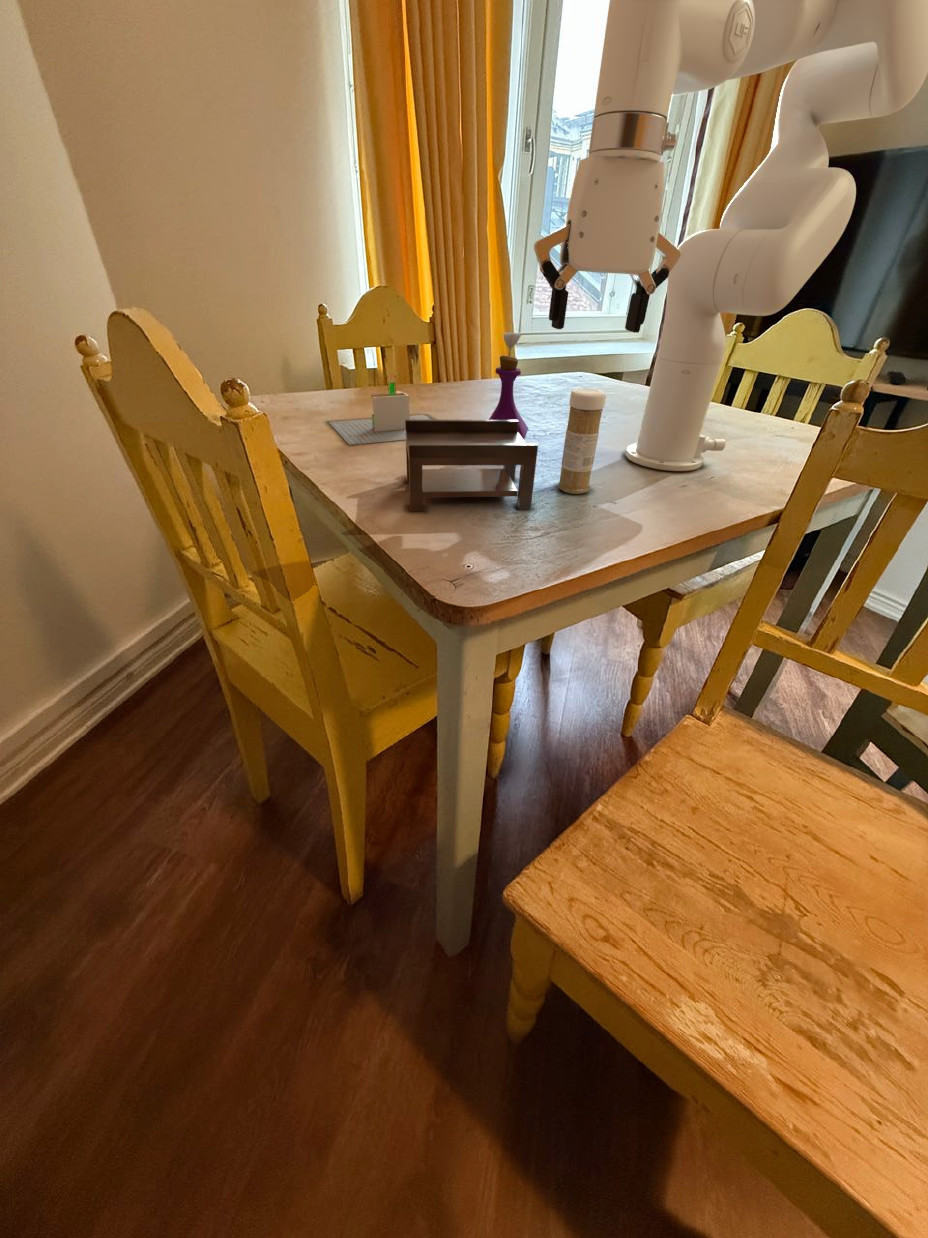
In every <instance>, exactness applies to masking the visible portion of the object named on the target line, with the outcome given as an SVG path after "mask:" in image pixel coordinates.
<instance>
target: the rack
mask: <svg viewBox="0 0 928 1238" xmlns="http://www.w3.org/2000/svg"><path fill="white" fill-rule="evenodd" d="M430 419H431V418H430ZM430 419H406V420H405V429H406V440H405V460H406V463H405V464H406V465H405V466H406V483H409V484H408V486H409V487H408V488H409V509H410V512H423V511H424V509H423V507H424V504H423V503H424V502H423V500H424V498H425V499H426V498H489V497H490V498H493V497H495V498H497V497H499V498H501V497H516V507H517V508H518V510H519V511H520V510H522V511H523V510H531V509H532V501H533V492H534V484H535V477H536V476H535V475H536V467H537V458H538V449H539V445H538V443H526V441H525V439H524V440H523V439H522V437H521V436H520V435H519V433H518V426H519V421H518V420H489V419H432V420H430ZM423 466H425V467H427V466H429V467H430V466H434V467H435V466H502V468H423ZM517 466H520V467H519V477H518V487H517V488H516V485H515V484H514V482H515V480H516V479H515V478H516V469H517Z"/></svg>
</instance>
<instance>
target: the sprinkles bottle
mask: <svg viewBox="0 0 928 1238" xmlns="http://www.w3.org/2000/svg"><path fill="white" fill-rule="evenodd" d="M569 397H570V398H569V403H568V404H569V413H568V421H567V425H566V426H567V427H566V431H565V438H564V444H563V451H562V457H561V468H560V475H559V481H558V485H557V487H558V489H559V490H561V491H562V492H564V493H568V494H572V495H573V494H574V495H582V494H585V493H587V492H588V491H589V489H590V480H591V475H592V470H593V467H594V460H595V456H596V450H597V445H598V439H599V434H600V424H601V420H602V419H601V418H602V414H603V411H604V410H603V409H604V408H605V404H606V397H607V393H606V392H605V391H603V390H600V389H594V388H575V389H573V390H571V392H570V396H569Z"/></svg>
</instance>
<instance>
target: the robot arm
mask: <svg viewBox="0 0 928 1238" xmlns="http://www.w3.org/2000/svg"><path fill="white" fill-rule="evenodd" d="M605 26H606V27H605V32H604V40H603V47H602V54H601V59H600V69H599V76H598V81H597V91H596V98H595V105H594V111H593V120H592V126H591V133H590V141H589V147H588V155H587V157H585V158H582V159H580V160H579V162H578V165H577V169H576V172H575V176H574V179H573V180H574V181H573V184H572V189H571V192H570V196H569V200H568V206H567V210H566V215H565V221H564V225H563V226H562V227H560V228H558V229H556V230H555V231H552V232H551V233H549V234H547V235H545V236H544V237H542V238H540V239H538V240H536V241H535V242H534V244H533V250H534V253H535V256H536V260H537V263H538V265H539V271H540V272H541V274H542V276H543V277H544V279H545V281H547V283H548V285H549V287H550V288H551V293H550V294H551V295H550V303H549V312H548V320H549V321H550V322H551V328H553V329H556V330H562V329H564V327H565V322H566V313H567V306H568V300H569V291H568V290H567V289H566V288H567V285H568V283H570V281H571V280H572V279H573V278H574V276H575V275H576V274H577V273H578V272H586V273H587V272H588V273H589V272H590V273H604V274H620V275H629V276H630V279H631V281H632V282H633V286H634V287H635V292H632V294H631V295H630V300H629V305H628V309H627V315H626V320H625V324H624V329H625V330H626V331H628V332H632V333H636V334H637V333H638V334H639V333H640V331H641V328H642V327H641V326H642V325H643V324H644V323H645V320H646V316H647V310H648V307H649V302H650V297H651V295H653V294H654V293H655V292H656V289H657V288H659V287H660V285H662V284H663V283H664V282H665V281H666V280H667V284H666V305H665V312H664V320H663V324H662V325H663V326H662V332H661V336H660V342H659V345H658V351H657V353H656V358H655V363H654V368H653V372H652V376H651V381H650V385H649V389H648V393H647V398H646V403H645V406H644V407H645V408H644V411H643V416H642V420H641V425H640V429H639V434H638V438H637V442H635V443H632V444H630V445H628V446H627V447H626V450H625V456H626V458H627V459H628V460H629V461H631V462H633V463H635V464H636V465H640V466H643V467H646V468H649V469H655V470H658V471H659V470H660V471H669V472H690V471H694V470H697V469H699V468H701V467H702V465H703V462H704V457H703V455H702V454H704V453H706V452H708V451H710V452H723V451H724V449H725V447H726V440H725V439H724V438H712V439H711V437H710V436H706V435H704V434H702V431H703V428H704V424H705V420H706V417H707V414H708V411H709V408H710V403H711V400H712V396H713V393H714V391H715V390H714V389H715V386H716V383H717V379H718V376H719V372H720V369H721V367H722V363H723V360H724V357H725V352H726V347H727V336H726V331H725V326H724V324H723V319H722V316H721V314H732V315H743V316H753V317H755V316H757V317H758V316H759V317H766V316H771V315H774V314H776V313H778V312H779V311H781V310H783V309H784V308H786V306H787V305H788V304H789V303H790V302H791V301H792V300H793V299H794V297H795V296H796V295H797V294H798V293H799V291H800V290H801V289H802V288H803V286H804V285H805V284H806V283H807V282H808V281H809V279H810V278H811V277H812V275H813V274H814V273H815V272H816V270H817V269H818V268H819V267H820V266H821V265H822V263H823V262H824V260H825V259H826V258H827V257H828V255H829V254H830V253H831V252H832V250H833V249H834V247H835V246H836V245H837V243H838V242H839V241H840V238H841V237H842V235H843V233H844V232H845V230H846V228H847V225H848V223H849V221H850V219H851V216H852V213H853V210H854V206H855V203H856V196H857V186H856V181H855V178H854V177H853V175H852V174H851V172H849V171H848V170H846V169H844V168H840V167H829V162H830V161H829V160H830V157H829V150H828V146H827V143H826V141H825V138H824V136H823V135H822V133H821V131H820V129H819V128H820V126H821V125H827V124H834V123H843V122H849V121H857V120H865V119H866V120H867V119H875V118H881V117H886V116H889V115H894V114H895V113H897V112H899V111H900V110H902V109H904V107H906V106H907V105H909V103H910V102H911V101H912V100H913V99H914V98H915V97H916V95H918V93H919V91H920V89H921V88H922V86H923V84H924V82H925V80H926V78H927V76H928V0H609V3H608V10H607V18H606V25H605ZM792 62H795V63H794V64H793V65H792V67H791V68H790V70H789V71H788V74H787V76H786V78H785V80H784V82H783V85H782V87H781V90H780V91H781V92H780V96H779V101H778V106H777V111H776V117H775V123H774V129H773V136H772V142H771V148H770V151H769V153H768V154H767V155H766V157H765V159H764V160H763V161H762V162H761V164H760V165H759V166H758V167H757V169H756V170H755V171H754V172H753V173H752V175H751V176H750V177H749V178H748V179H747V180H746V181H745V183H744V184H743V185H742V187H740V189H739V190H738V191H737V193H736V194H735V195H734V197H733V198H732V200H731V201H730V202H729V204H728V205H727V207H726V208H725V210H724V212H723V214H722V218H721V220H720V223H719V228H712V229H706V230H702V231H698V232H695V233H694V234H691V235H690V236H688V237H687V238H686V239H684V240H683V241H682V242H681V243H680V244H679V245H678V247H676V245H674V244H673V243H672V242H671V241H670V240H669V239H668V238H667V237H665V235H663V234H662V233H661V232H660V224H661V220H662V210H663V203H664V202H663V201H664V191H665V189H664V188H665V162H663V161H661V157H663V155H664V153H666V151H668V152H672V151H673V150H674V149H675V147H676V143H677V134H676V133H671V132H670V131H669V125H670V122H668V120H669V115H670V111H671V105H672V101H673V96H681V95H687V94H693V93H699V92H702V91H707V90H711V89H713V88H716V87H718V86H720V85H722V84H724V83H725V82H726V81H731V80H736V79H740V78H746V77H749V76H753V75H758V74H762V73H764V72H767V71H770V70H773V69H775V68H778V67H780V66H784V65H787V64H789V63H792ZM558 245H560V251H559V264H560V265H561V266H560V267H559V268H558V270H557V268H556V266H555V265H554V263H553V262H552V259H551V254H550V252H551V250H552V249H553V248H555V247H556V246H558ZM656 252H657V253H658V254H659V255H660V256H661V261H660V263H659V265H658V267H657V268H656V269H654V270H653V272H651V271H650V268H651V267H652V264H653V261H654V258H655V253H656Z"/></svg>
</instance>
